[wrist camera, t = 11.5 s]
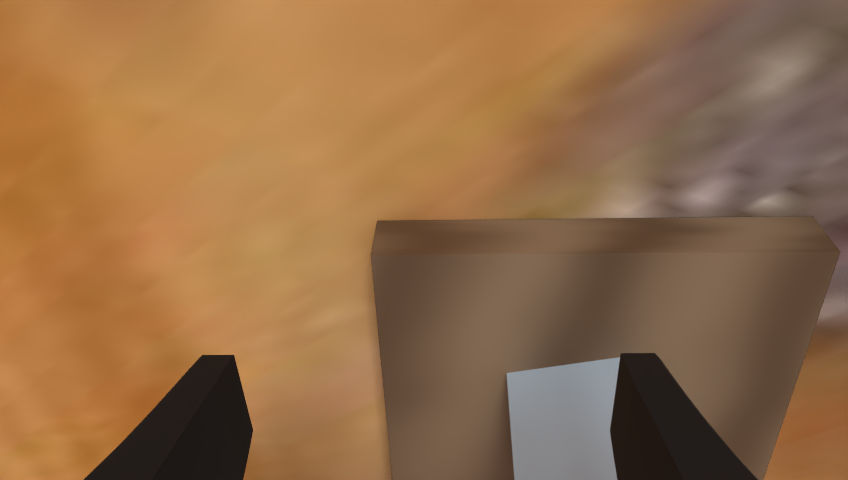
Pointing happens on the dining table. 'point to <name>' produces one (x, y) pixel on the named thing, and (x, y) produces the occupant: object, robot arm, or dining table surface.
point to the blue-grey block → (563, 421)
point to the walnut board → (588, 322)
